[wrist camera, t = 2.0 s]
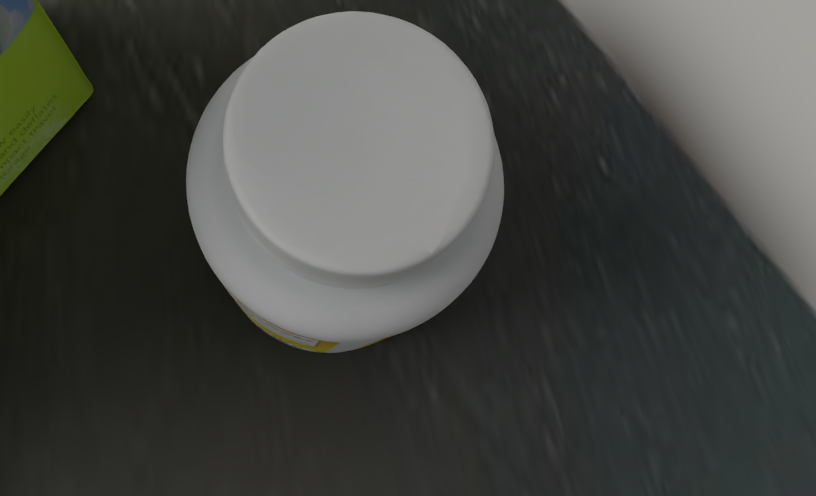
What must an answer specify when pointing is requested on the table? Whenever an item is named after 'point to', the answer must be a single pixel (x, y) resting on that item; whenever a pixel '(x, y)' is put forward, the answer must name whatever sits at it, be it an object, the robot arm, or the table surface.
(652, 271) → the table surface
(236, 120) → the supplement bottle
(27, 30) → the box
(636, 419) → the table surface
